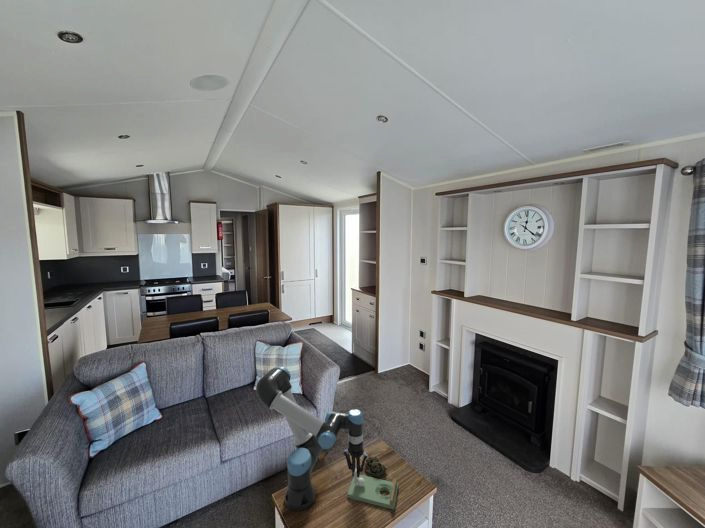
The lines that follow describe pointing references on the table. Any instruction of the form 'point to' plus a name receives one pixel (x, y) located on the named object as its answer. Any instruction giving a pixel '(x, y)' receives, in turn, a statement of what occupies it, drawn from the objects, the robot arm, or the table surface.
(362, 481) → the ball
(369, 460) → the rock
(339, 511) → the table surface
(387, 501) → the green
